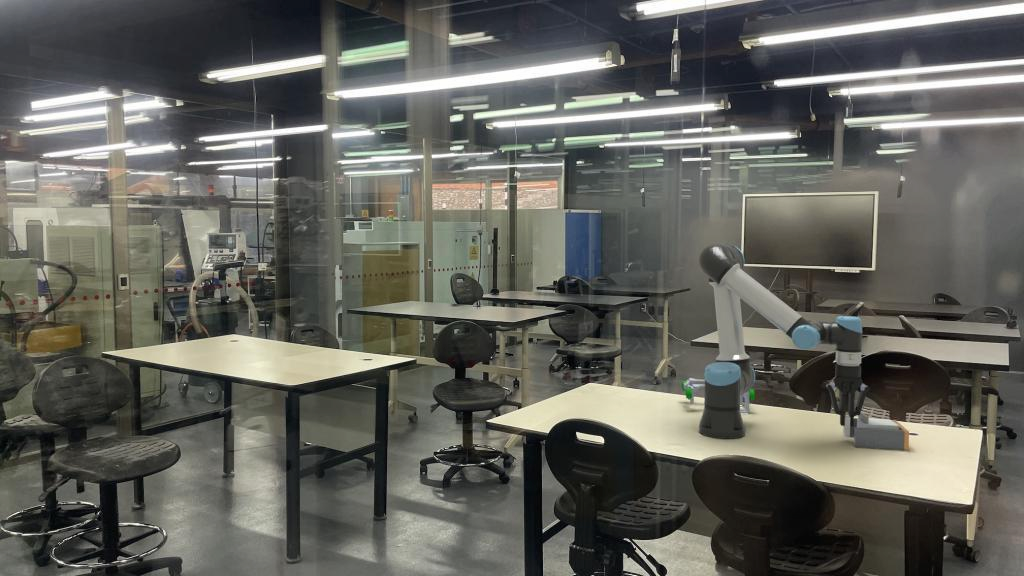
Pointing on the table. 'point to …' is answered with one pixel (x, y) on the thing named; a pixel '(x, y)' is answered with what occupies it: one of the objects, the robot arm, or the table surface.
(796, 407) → the table surface
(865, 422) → the white chamfered box
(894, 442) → the bay
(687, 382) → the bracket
